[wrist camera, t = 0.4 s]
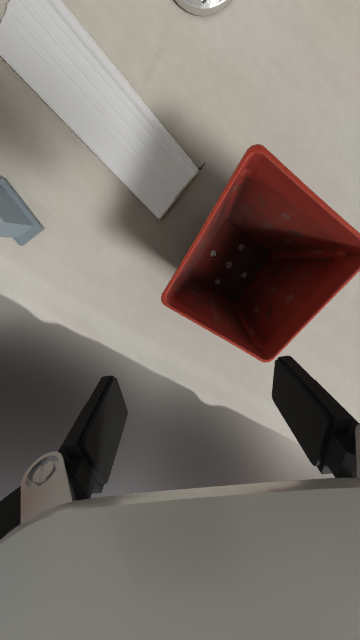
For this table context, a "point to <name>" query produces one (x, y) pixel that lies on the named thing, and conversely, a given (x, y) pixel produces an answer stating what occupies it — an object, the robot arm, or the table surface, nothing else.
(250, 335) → the plant pot
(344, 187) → the table surface
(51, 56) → the baseboard molding
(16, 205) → the slate ridge
